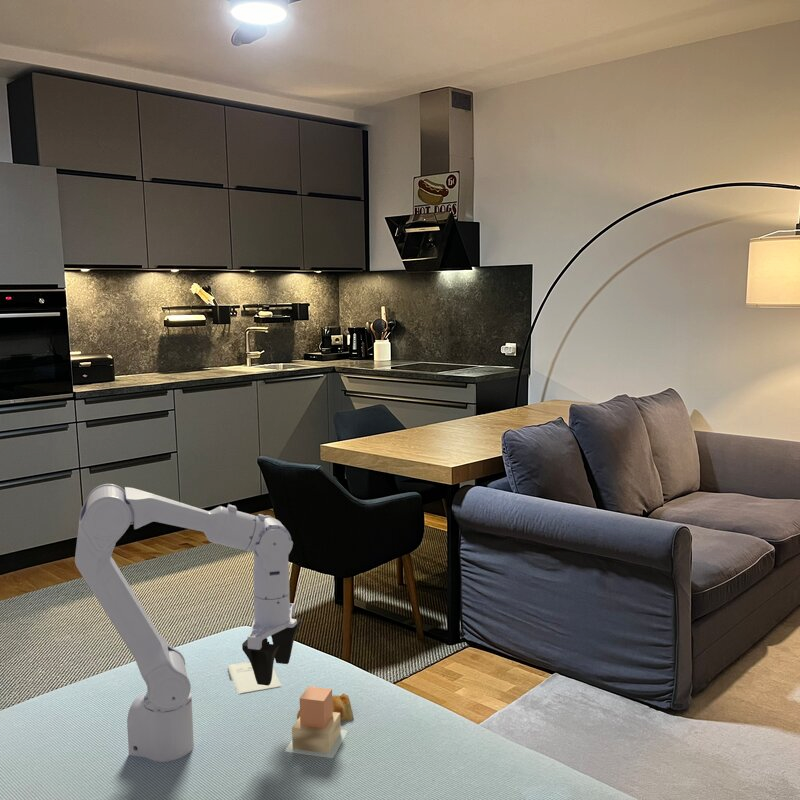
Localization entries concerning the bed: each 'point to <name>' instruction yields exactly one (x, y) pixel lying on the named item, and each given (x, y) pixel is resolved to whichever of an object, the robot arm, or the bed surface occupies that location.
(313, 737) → the base block
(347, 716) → the pastry
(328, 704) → the top block
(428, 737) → the bed surface
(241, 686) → the external hard drive
